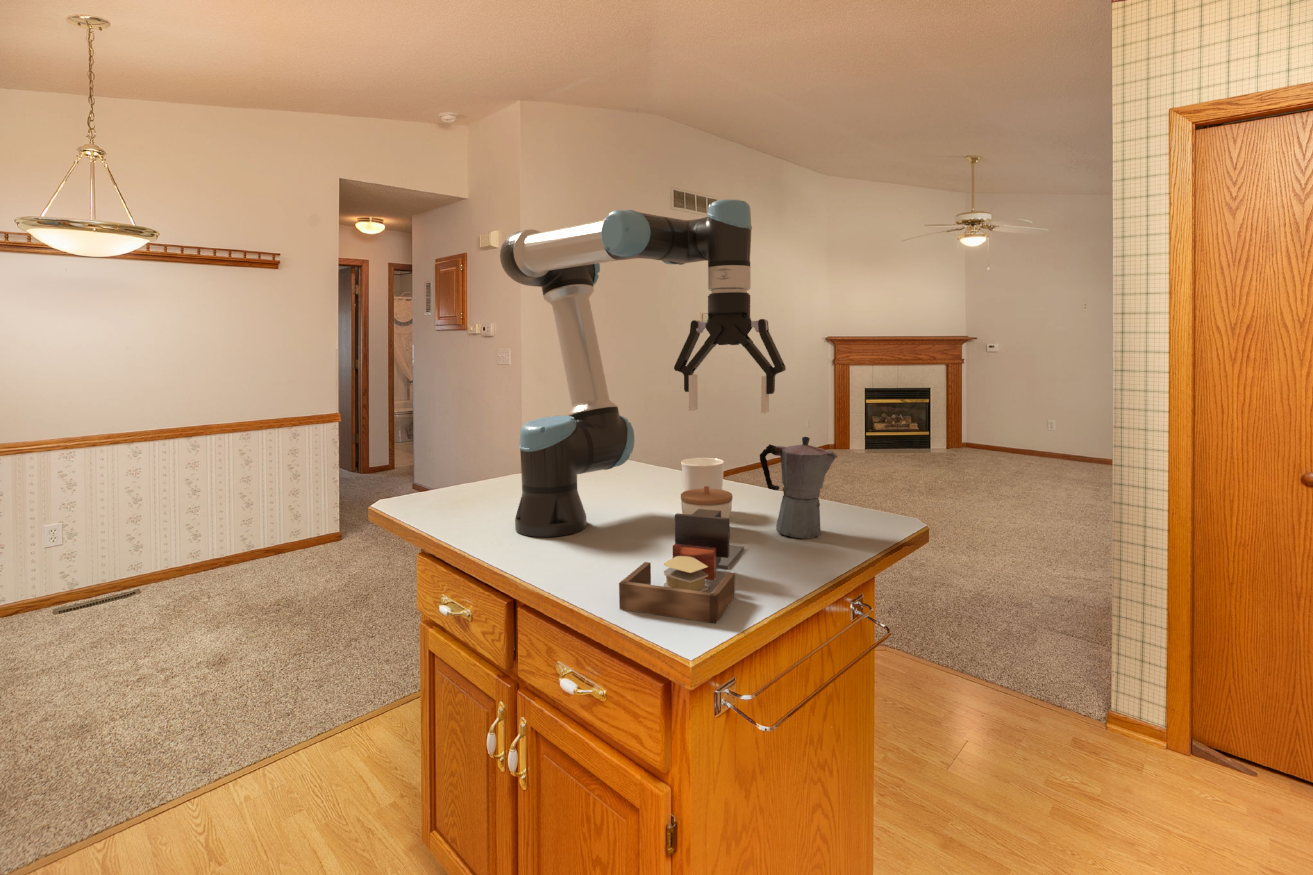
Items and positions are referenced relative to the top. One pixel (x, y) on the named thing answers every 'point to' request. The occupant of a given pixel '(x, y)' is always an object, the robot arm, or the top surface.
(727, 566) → the grey flat block
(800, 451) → the moka pot
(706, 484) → the candle holder
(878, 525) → the top surface
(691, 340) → the robot arm
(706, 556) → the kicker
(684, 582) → the stacked layers on plate
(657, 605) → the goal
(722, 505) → the lidded jar
